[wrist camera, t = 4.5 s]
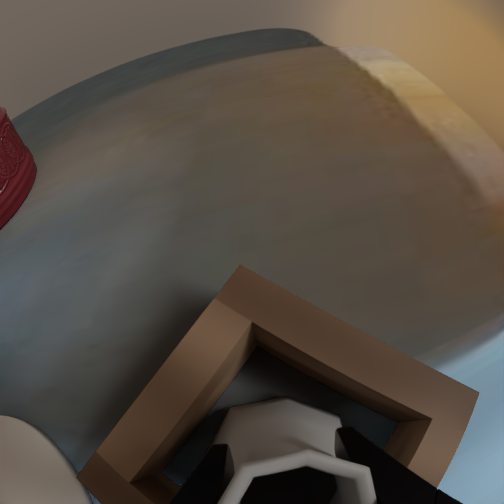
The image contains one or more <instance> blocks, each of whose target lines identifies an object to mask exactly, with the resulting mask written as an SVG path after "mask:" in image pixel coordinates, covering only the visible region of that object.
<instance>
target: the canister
mask: <svg viewBox="0 0 504 504" xmlns="http://www.w3.org/2000/svg"><path fill="white" fill-rule="evenodd" d="M36 172H37V167H36V164H35V162H34V158H33V155H32V153H31V152H30V150H29V148H28V147H27V146H25V145H24V143H23V141H22V140H21V138H20V136H19V135H18V133H17V131H16V130H15V128H14V126H13V124H12V123H11V121H10V119H9V117H8V115H7V113H6V109H5V108H4V107H0V228H2V227H3V226H4V225H5V224H6V223H7V221H8V220H9V219H10V218H11V217H12V216H13V215H14V213H15V212H16V211H17V210H18V208H19V207H20V206H21V204H22V203H23V201H24V200H25V198H26V197H27V195H28V193H29V191H30V189H31V187H32V185H33V183H34V180H35V177H36Z"/></svg>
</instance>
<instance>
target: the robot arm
mask: <svg viewBox="0 0 504 504" xmlns="http://www.w3.org/2000/svg"><path fill="white" fill-rule="evenodd" d="M334 450H335V456H336V458H339V459H342V460H346V461H349V462H353V463H356V464H360V465H364V466H367V467H369V468H370V472H371V477H372V481H373V486H374V490H375V495H376V500H377V504H462V503H461V502H459V501H457V500H456V499H454V498H452V497H450V496H449V495H447V494H446V493H444V492H443V491H441V490H440V489H438V490H437V488H436V487H435V486H433V485H432V484H430V483H429V482H427V481H426V480H424V479H423V478H421V477H420V476H419V475H417V474H416V473H414V472H413V471H411V470H410V469H408V468H407V467H406V466H404V465H403V464H401V463H400V462H399V461H397V460H396V459H395V458H393V457H392V456H390V455H389V454H388V453H386V452H385V451H384V450H382V449H381V448H380V447H378V446H377V445H376V444H374V443H373V442H372V441H370V440H369V439H368V438H366V437H365V436H364V435H362V434H361V433H360V432H359V431H357V430H356V429H355V428H353V427H352V426H344V427H340V428H337V429H336V431H335V443H334ZM234 474H235V471H234V462H233V458H232V454H231V451H230V447H229V445H228V444H227V443H221V444H213V445H212V446H211V447H210V449H209V450H208V452H207V453H206V454H205V456H204V457H203V459H202V460H201V461H200V463H199V464H198V466H197V467H196V468H195V470H194V471H193V472H192V474H191V475H190V477H189V478H188V479H187V481H186V482H185V483H184V485H183V486H182V487H181V489H180V490H179V491H178V493H177V494H176V495H175V496H174V498H173V499H172V500H171V502H170V503H169V504H218V502H219V500H220V499H221V497H222V495H223V493H224V492H225V490H226V488H227V487H228V485H229V483H230V481H231V480H232V478H233V476H234Z"/></svg>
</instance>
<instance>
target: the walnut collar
mask: <svg viewBox="0 0 504 504" xmlns="http://www.w3.org/2000/svg"><path fill="white" fill-rule="evenodd" d="M257 346H258V347H260V348H261V349H263V350H265V351H266V352H268V353H270V354H271V355H273V356H275V357H276V358H278V359H280V360H281V361H283V362H285V363H287V364H288V365H290V366H292V367H293V368H295V369H297V370H299V371H300V372H302V373H304V374H306V375H308V376H309V377H311V378H313V379H315V380H316V381H318V382H320V383H322V384H324V385H326V386H327V387H329V388H331V389H333V390H335V391H337V392H338V393H340V394H342V395H344V396H346V397H348V398H350V399H352V400H354V401H356V402H358V403H360V404H362V405H363V406H365V407H367V408H369V409H371V410H373V411H375V412H377V413H379V414H382V415H384V416H386V417H388V418H390V419H392V420H394V421H396V422H398V424H397V426H396V428H395V430H394V432H393V433H392V435H391V437H390V439H389V441H388V442H387V444H386V446H385V448H384V449H383V450H384V451H385V452H386V453H388V454H389V455H390V456H392V457H393V458H395V459H396V460H397V461H399V462H400V463H401V464H403V465H404V466H406V467H407V468H408V469H410V470H411V471H413V472H414V473H416V474H417V475H419V476H420V477H421V478H423V479H424V480H426V481H427V482H429V483H430V484H432V485H433V486H435V487H436V488H437V487H438V485H439V483H440V481H441V479H442V478H443V476H444V474H445V472H446V470H447V468H448V466H449V464H450V462H451V460H452V458H453V456H454V454H455V452H456V450H457V448H458V446H459V443H460V441H461V439H462V437H463V434H464V432H465V430H466V427H467V425H468V422H469V420H470V417H471V415H472V412H473V409H474V406H475V404H476V401H477V398H478V395H479V392H478V391H476V390H474V389H472V388H470V387H468V386H466V385H464V384H462V383H460V382H458V381H456V380H454V379H452V378H450V377H448V376H446V375H444V374H442V373H440V372H438V371H437V370H435V369H433V368H431V367H429V366H427V365H425V364H423V363H421V362H419V361H417V360H415V359H413V358H412V357H410V356H408V355H406V354H404V353H402V352H400V351H398V350H396V349H394V348H393V347H391V346H389V345H387V344H385V343H383V342H381V341H379V340H377V339H376V338H374V337H372V336H370V335H368V334H366V333H364V332H362V331H361V330H359V329H357V328H355V327H353V326H351V325H349V324H348V323H346V322H344V321H342V320H340V319H338V318H336V317H335V316H333V315H331V314H329V313H327V312H325V311H324V310H322V309H320V308H318V307H316V306H314V305H312V304H311V303H309V302H307V301H305V300H303V299H302V298H300V297H298V296H296V295H294V294H292V293H291V292H289V291H287V290H285V289H283V288H281V287H280V286H278V285H276V284H274V283H272V282H271V281H269V280H267V279H265V278H263V277H262V276H260V275H258V274H256V273H254V272H253V271H251V270H249V269H247V268H245V267H244V266H242V265H239V267H238V268H237V269H236V271H235V272H234V273H233V274H232V276H231V277H230V278H229V280H228V281H227V282H226V283H225V285H224V286H223V287H222V289H221V290H220V291H219V292H218V294H217V295H216V296H215V298H214V299H213V300H212V302H211V303H210V304H209V305H208V307H207V308H206V309H205V311H204V312H203V313H202V314H201V316H200V317H199V318H198V320H197V321H196V322H195V323H194V325H193V326H192V327H191V329H190V330H189V331H188V333H187V334H186V335H185V336H184V338H183V339H182V340H181V342H180V343H179V344H178V345H177V347H176V348H175V349H174V351H173V352H172V353H171V355H170V356H169V357H168V358H167V360H166V361H165V362H164V364H163V365H162V366H161V368H160V369H159V370H158V371H157V373H156V374H155V375H154V377H153V378H152V379H151V380H150V382H149V383H148V384H147V386H146V387H145V388H144V390H143V391H142V392H141V393H140V395H139V396H138V397H137V399H136V400H135V401H134V403H133V404H132V405H131V406H130V408H129V409H128V410H127V412H126V413H125V414H124V415H123V417H122V418H121V419H120V421H119V422H118V423H117V425H116V426H115V427H114V428H113V430H112V431H111V432H110V434H109V435H108V436H107V438H106V439H105V440H104V441H103V443H102V444H101V445H100V447H99V448H98V449H97V451H96V452H95V453H94V454H93V456H92V457H91V458H90V460H89V461H88V462H87V464H86V465H85V466H84V467H83V469H82V470H81V471H80V473H79V474H78V475H77V477H76V478H77V479H78V480H79V482H80V483H81V484H82V485H83V486H84V487H85V488H86V489H87V490H88V491H89V492H90V493H91V494H92V495H93V496H94V497H95V498H96V499H97V500H98V501H99V502H100V503H102V504H169V503H170V502H171V500H172V499H173V498H174V496H175V495H176V494H177V493H178V491H179V490H180V489H181V487H180V486H178V485H177V484H176V483H174V482H173V481H172V480H170V479H169V478H168V477H166V476H165V475H164V474H163V473H161V472H162V471H163V470H164V469H165V468H166V466H167V465H168V464H169V463H170V461H171V460H172V459H173V458H174V456H175V455H176V454H177V453H178V451H179V450H180V449H181V448H182V446H183V445H184V444H185V443H186V441H187V440H188V439H189V438H190V436H191V435H192V434H193V432H194V431H195V430H196V429H197V427H198V426H199V425H200V423H201V422H202V421H203V419H204V418H205V417H206V415H207V414H208V413H209V412H210V410H211V409H212V408H213V406H214V405H215V404H216V402H217V401H218V400H219V398H220V397H221V395H222V394H223V393H224V391H225V390H226V389H227V387H228V386H229V385H230V383H231V382H232V380H233V379H234V378H235V376H236V375H237V374H238V372H239V371H240V369H241V368H242V367H243V365H244V364H245V362H246V361H247V359H248V358H249V357H250V355H251V354H252V352H253V351H254V350H255V348H256V347H257Z"/></svg>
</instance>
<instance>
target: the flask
mask: <svg viewBox="0 0 504 504" xmlns="http://www.w3.org/2000/svg"><path fill="white" fill-rule="evenodd" d="M340 427H343V426H342V422H341V418H340V415H337V414H334V413H332V412H329V411H326V410H323V409H320V408H318V407H315V406H312V405H310V404H307V403H304V402H302V401H299V400H297V399H294V398H292V397H289V396H285V397H280V398H276V399H271V400H267V401H262V402H257V403H252V404H246V405H241V406H235V407H230V409H229V411H228V413H227V415H226V417H225V418H224V420H223V422H222V424H221V426H220V428H219V430H218V431H217V433H216V435H215V437H214V439H213V441H212V442H211V444H210V446H209V448H208V450H209V449H210V447H211V446H212V445H213V444H221V443H227V444H228V445H229V447H230V451H231V454H232V458H233V462H234V471H235V474H234V476H233V478H232V480H231V481H230V483H229V485H228V487H227V488H226V490H225V492H224V493H223V495H222V497H221V499H220V500H219V502H218V504H377V500H376V495H375V490H374V486H373V481H372V477H371V472H370V468H369V467H367V466H364V465H360V464H356V463H353V462H349V461H346V460H342V459H339V458H336V456H335V450H334V443H335V431H336V429H337V428H340ZM208 450H207V451H206V453H207V452H208ZM206 453H205V454H206Z"/></svg>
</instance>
